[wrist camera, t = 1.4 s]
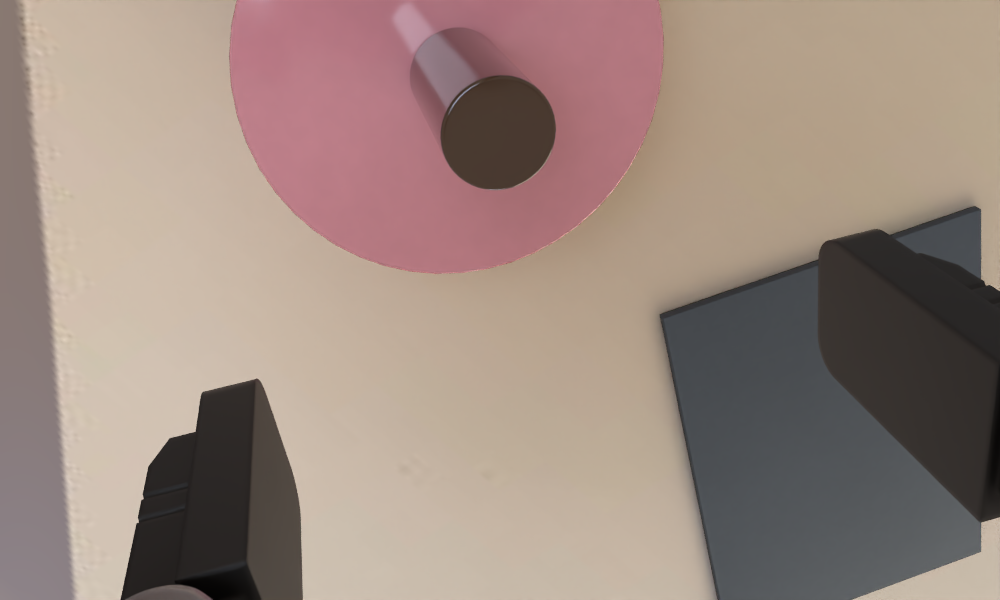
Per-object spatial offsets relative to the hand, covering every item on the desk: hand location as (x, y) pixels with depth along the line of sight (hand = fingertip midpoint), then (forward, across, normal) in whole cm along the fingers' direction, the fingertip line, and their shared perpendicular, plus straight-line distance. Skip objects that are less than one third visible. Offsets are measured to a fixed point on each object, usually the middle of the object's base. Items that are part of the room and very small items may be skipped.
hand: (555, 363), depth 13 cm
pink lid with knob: (+13, -1, -1) cm, 13 cm away
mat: (+20, -16, +22) cm, 34 cm away
